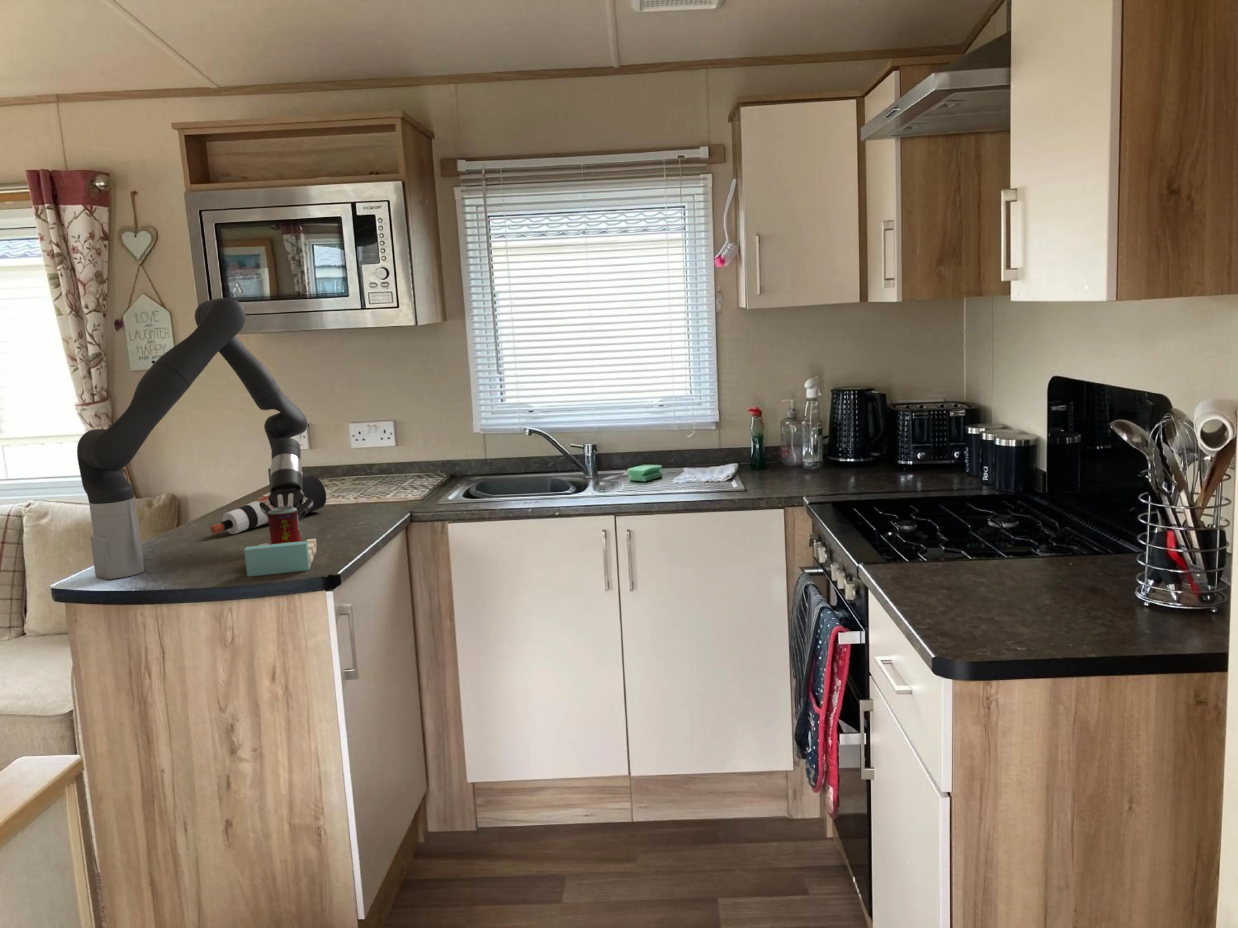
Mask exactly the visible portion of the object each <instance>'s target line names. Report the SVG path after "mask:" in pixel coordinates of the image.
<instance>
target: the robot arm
mask: <svg viewBox="0 0 1238 928" xmlns="http://www.w3.org/2000/svg"><path fill="white" fill-rule="evenodd" d="M246 317H247V316H246V310H245V308H244V306H243V305H242V303H240V301H238V300H236V299H235V298H229V297H221V298H220V297H219V298H213V299H209V300H205V301H203V302H201V303H200V304H198V306H197V307H196V309H195V312H194V320H195V324H196V326H197V327H196V328H195V329H194V330H193V332H192V333H190V334H189V335H188V336H187V337H186V338H184V339H183V340H182V341H180V342H179V343H177V344H175V346H173V347H171V348H170V349H169V350H167V351H166V352H165V353H164V354H162V355H161V356H160V357H159V358H158V359H156V361H155V362H154V363H153V364H152V365H151V366H150V367H149V369H147V370H146V372H145V373H144V374H143V376H142V377H141V378H140V380H139V381H138V384H137V386H136V388H135V390H134V394H133V397H132V398H131V402H130V404H129V405H128V407H127V408H126V410H125V411H124V412H123V413H122V414H121V415H120V416H119V417H118V418H117V419H116V421H115V422H113V424H111V425H110V426H109V427H108V428H94V429H91V430H88V431H86V432H85V433H84V434H82V435H81V437H80V438H79V440H78V442H77V448H76V457H77V462H78V463H77V464H78V468H79V474H80V478H81V484H82V487H83V490H84V492H85V494H86V496H87V499H88V504H89V512H90V519H91V527H92V535H90V536H89V540H90V541H89V542H90V546H91V555H92V560H93V568H94V574H95V577H97V578H100V579H104V580H107V579H110V580H113V579H120V578H128V577H131V576H136V575H138V574H141V573H143V572H145V564H144V558H143V552H142V543H141V536H140V530H139V522H138V515H137V514H138V513H137V506H136V499H135V493H134V487H133V485H132V484H131V483H130V482H129V480H127V479H126V476H125V474H124V468H126V466H128V465H129V464H130V463H131V462H132V460H133V459H134V457H136V455H137V453H138V451H139V450H140V449H141V447H142V446H143V445H144V443H145V441H147V440H146V439H147V438H148V437H149V435H150V434H151V432H152V431H153V430H154V429H155V428H156V426H157V425H158V424H159V423H160V421H161V420H163V418H165V416H166V415H167V414H168V413H169V411H170V410H171V409H172V408H173V407H174V405H176V403H178V401H179V400H180V399H181V398H182V397H183V395H184V394H185V393H186V392H187V390H188V389H190V387H191V386H192V384H194V382H195V381H196V380H197V378H198V377H199V376H200V374H201V373H202V372H203V371H204V370H205V368H206V367H207V366H208V365H209V363H210V362H211V361H212V360H213V358H214V357H215V356H216V355H217V354H218V353H219V354H220V355H221V356H222V357H223V359H224V360H225V361H226V362H227V363H228V365H229V367H231V369H232V370H233V371H234V373H235V374H236V375H237V376H238V379H239V380H240V381H241V383H242V384H243V385H244V388H245V389H246V390H247V392H248V393H249V395H250V397H251V398H252V400H253V401H254V403H255V404H256V406H257V407H258V409H259V410H261V411H268V410H274V411H278V412H277V413H275V414H272V415H270V416H269V417H267V419H266V420H265V421H264V424H263V426H264V428H263V429H264V432H265V435H266V437H267V440H268V443H269V446H270V450H271V462H270V463H271V464H270V478H269V479H270V482H269V483H270V484H269V485H270V487H269V489H270V493H269V494H268V495H269V497H268V500H267V501H266V502H265V503H264V502H261V503H260V504H259V505H260V508H261V511H262V512H263V513H264V514H265V515H266V516H267V517H268V512H269V511H270V510H271V506H270V505H272V506H273V507H274V508H276V507H282V506H292V507H294V508H296V509H297V508H298V507H299V506H300V505H301V503H302V506H301V507H300V508H299V509H298V519H299V522H300V521H301V520H302V519H303V518H304V517H305V516H306V515H307V514H308V513H307V512H308V511H309V510H310V509H311V508H312V507H313V501H312V498H306V497H305V496H304V493H303V492H302V477H304V475H303V467H302V462H301V461H302V460H301V459H302V458H301V456H302V455H301V451H302V450H301V445H300V444H301V443H300V442H299V441H298V440H297V439H295V438H293V437H296V436H299V435H301V434H304V432H306V430H307V428H308V420H307V418H306V417H307V416H306V415H305V413H304V412H303V411H302V410H301V409H300V407H298V406H297V405H296V404H295V403H294V402H293V401H292V400H290V398H288V396H287V395H286V394H285V393H284V392H283V391H282V390H281V388H280V386H279V384H278V383H277V381H276V380H275V378H274V377H273V376H272V374H271V371H269V370H268V369H267V367H266V366H265V365H264V364H263V363H262V362H261V361H260V360H259V359H258V358H257V357H255V356H254V355H253V353H252V352H251V351H250V350H248V348H247V347H246V346H245V345H244V344H243V342H242V340H240V338H239V336H238V334H239V333H240V332H241V331H242V330H243V328H244V325H245V323H246Z"/></svg>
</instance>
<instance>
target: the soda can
mask: <svg viewBox="0 0 1238 928" xmlns="http://www.w3.org/2000/svg"><path fill="white" fill-rule="evenodd" d="M268 521H269V523H268V527H269V534H270V535H269V537H270V543H271V544H281V543H291V542H301V541H302V538H301V529H300V521H299V519H298V510H297V509H296V508H294V507H292V506H282V507H276V508H273V509H271V510H270V511H269V512H268ZM271 544H270V545H271Z"/></svg>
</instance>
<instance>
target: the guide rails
mask: <svg viewBox="0 0 1238 928" xmlns="http://www.w3.org/2000/svg"><path fill="white" fill-rule="evenodd" d="M306 541H307V542H308V552H309V566H310V567H311V565H312V563H313V560H314V558H315V555H316V552H317V550H318V549H317V548H318V546H317V539H316V538H310V539H306ZM261 545H269V543H259V545H258V546H261Z"/></svg>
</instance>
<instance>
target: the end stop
mask: <svg viewBox="0 0 1238 928" xmlns="http://www.w3.org/2000/svg"><path fill="white" fill-rule="evenodd" d="M244 559H245V560H244V561H245V568H246V575H247V577H257V576H267V575H276V574H285V573H295V572H303V571H304V572H305V571H310V568H311V566H309V552H308V542H307V540H303V541H302V540H301V542H291V543H281V544H268V545H261V546H259V545H253V546H246V547H245V548H244Z"/></svg>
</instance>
